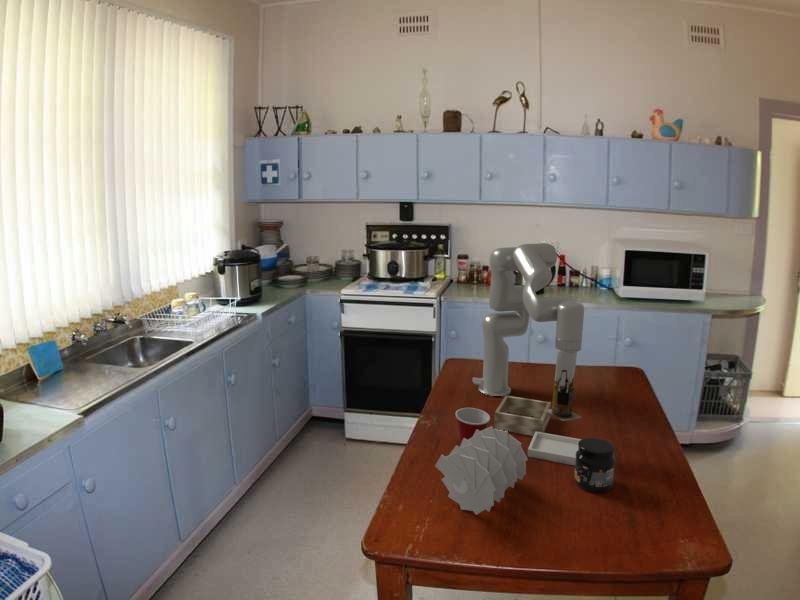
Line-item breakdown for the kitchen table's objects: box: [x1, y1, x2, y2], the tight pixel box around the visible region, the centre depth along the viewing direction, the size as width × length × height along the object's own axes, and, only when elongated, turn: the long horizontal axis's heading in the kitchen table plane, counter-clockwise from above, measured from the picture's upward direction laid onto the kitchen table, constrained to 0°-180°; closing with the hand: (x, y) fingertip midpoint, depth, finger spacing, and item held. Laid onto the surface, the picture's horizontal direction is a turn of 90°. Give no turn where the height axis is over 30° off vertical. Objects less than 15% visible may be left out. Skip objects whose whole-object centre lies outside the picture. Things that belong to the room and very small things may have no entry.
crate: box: [493, 395, 552, 437], centre depth 202 cm, size 16×16×6 cm
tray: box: [527, 432, 581, 467], centre depth 182 cm, size 18×13×2 cm
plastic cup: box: [455, 407, 491, 444], centre depth 183 cm, size 11×11×12 cm
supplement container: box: [573, 437, 616, 494], centre depth 163 cm, size 10×10×12 cm
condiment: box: [546, 377, 583, 422], centre depth 177 cm, size 7×8×12 cm
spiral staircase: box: [434, 425, 528, 516], centre depth 157 cm, size 18×18×25 cm
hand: (564, 399), depth 178 cm, fingers closed on condiment, 6 cm apart
